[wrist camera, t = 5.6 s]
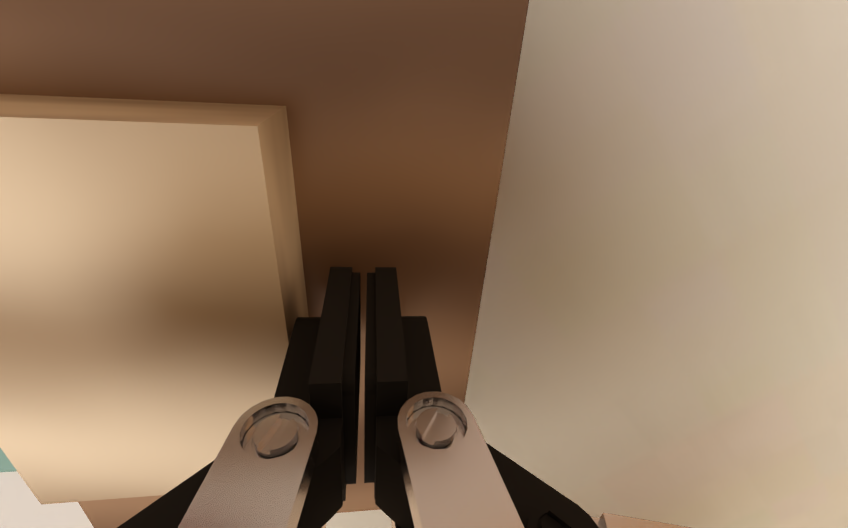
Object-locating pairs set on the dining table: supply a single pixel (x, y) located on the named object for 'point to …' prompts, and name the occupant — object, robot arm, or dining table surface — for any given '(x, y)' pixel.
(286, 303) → the ash tile
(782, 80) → the dining table surface
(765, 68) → the dining table surface
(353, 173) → the walnut deck
